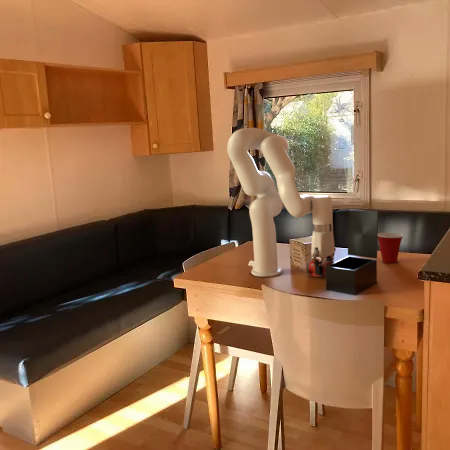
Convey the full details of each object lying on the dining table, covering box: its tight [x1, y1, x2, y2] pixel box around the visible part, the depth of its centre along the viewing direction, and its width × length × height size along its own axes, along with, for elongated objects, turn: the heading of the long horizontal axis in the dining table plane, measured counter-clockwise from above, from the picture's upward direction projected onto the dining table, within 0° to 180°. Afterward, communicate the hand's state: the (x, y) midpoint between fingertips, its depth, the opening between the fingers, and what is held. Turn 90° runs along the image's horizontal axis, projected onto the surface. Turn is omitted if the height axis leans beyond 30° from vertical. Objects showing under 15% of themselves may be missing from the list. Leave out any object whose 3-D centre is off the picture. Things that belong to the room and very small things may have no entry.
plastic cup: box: [378, 232, 404, 264], centre depth 209 cm, size 11×11×12 cm
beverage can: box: [306, 259, 335, 279], centre depth 194 cm, size 7×12×7 cm, turn 51°
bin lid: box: [347, 209, 379, 259], centre depth 186 cm, size 17×12×1 cm
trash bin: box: [325, 255, 378, 296], centre depth 182 cm, size 17×12×9 cm
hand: (324, 272), depth 194 cm, fingers closed on beverage can, 7 cm apart
